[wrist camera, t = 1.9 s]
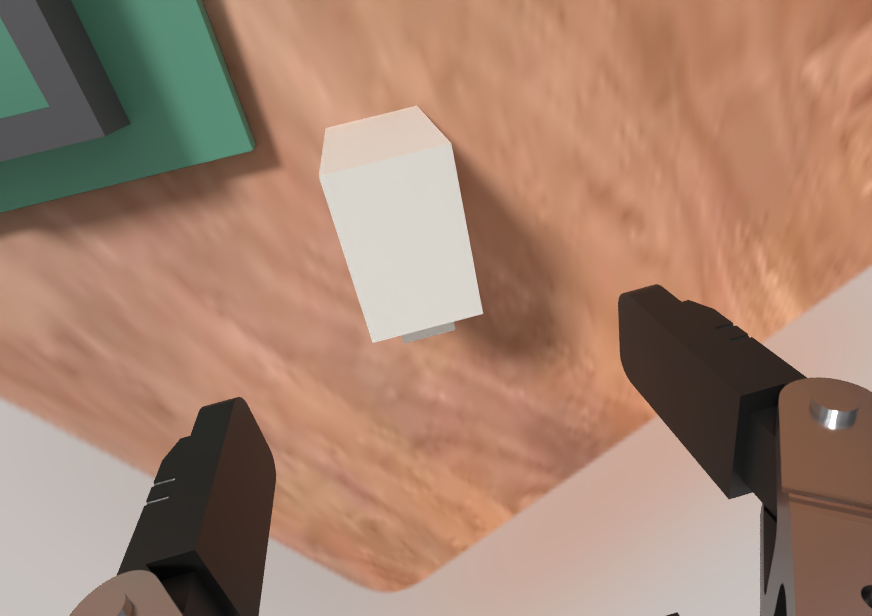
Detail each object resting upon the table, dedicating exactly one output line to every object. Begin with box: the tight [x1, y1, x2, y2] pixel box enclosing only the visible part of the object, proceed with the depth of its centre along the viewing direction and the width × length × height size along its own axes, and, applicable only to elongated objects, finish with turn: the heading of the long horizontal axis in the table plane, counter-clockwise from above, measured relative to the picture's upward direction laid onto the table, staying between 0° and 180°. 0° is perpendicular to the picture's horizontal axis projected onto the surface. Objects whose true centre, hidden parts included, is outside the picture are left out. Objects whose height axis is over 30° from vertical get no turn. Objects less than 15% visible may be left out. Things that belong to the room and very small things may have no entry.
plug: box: [319, 106, 483, 343], centre depth 21 cm, size 4×7×8 cm, turn 12°
